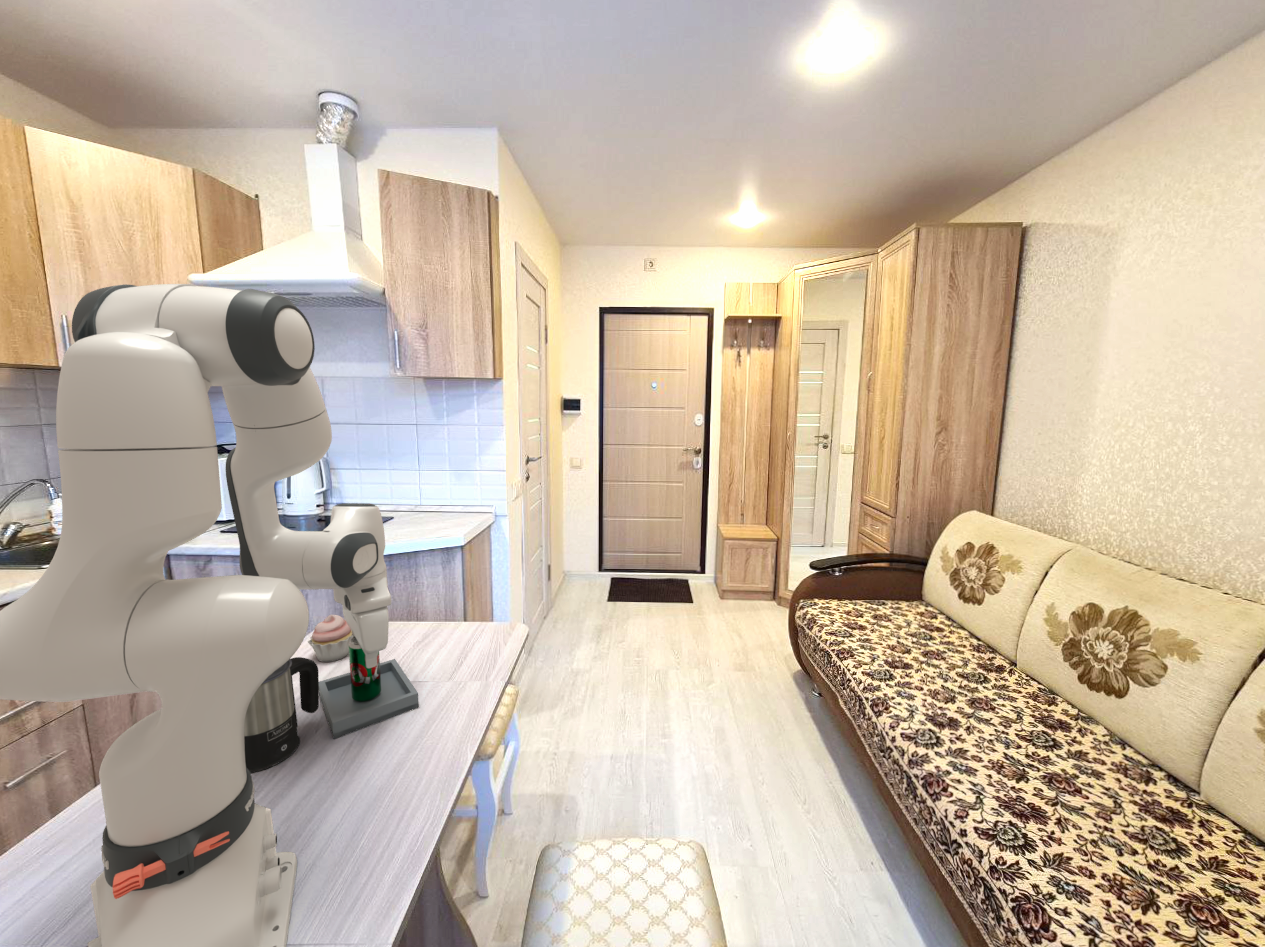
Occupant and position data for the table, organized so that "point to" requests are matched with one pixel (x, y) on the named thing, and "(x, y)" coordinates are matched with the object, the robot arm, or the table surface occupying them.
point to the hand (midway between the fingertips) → (365, 655)
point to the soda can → (363, 674)
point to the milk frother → (278, 714)
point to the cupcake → (331, 639)
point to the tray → (358, 715)
